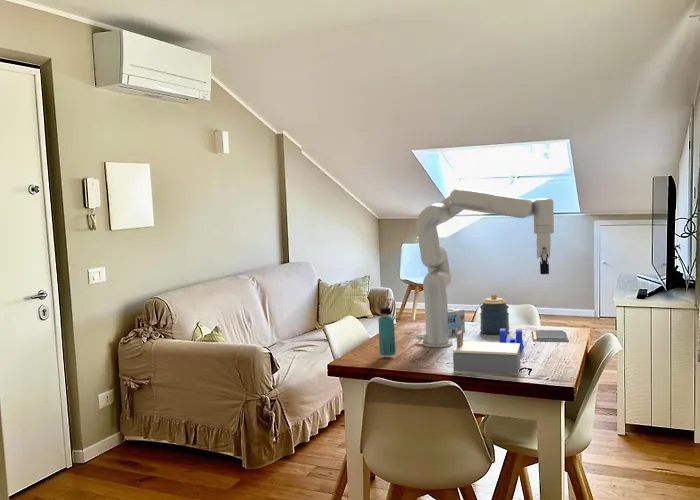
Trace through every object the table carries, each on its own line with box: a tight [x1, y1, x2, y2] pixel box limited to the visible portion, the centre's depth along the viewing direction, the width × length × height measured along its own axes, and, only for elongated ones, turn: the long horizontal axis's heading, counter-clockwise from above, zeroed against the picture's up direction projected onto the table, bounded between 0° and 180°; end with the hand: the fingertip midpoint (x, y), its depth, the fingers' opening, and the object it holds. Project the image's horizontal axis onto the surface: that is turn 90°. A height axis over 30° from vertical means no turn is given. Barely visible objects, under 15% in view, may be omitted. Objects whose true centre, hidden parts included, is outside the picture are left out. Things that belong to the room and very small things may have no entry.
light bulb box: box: [448, 307, 466, 336], centre depth 279 cm, size 11×7×11 cm, turn 119°
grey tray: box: [452, 347, 521, 377], centre depth 217 cm, size 22×14×7 cm, turn 70°
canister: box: [479, 293, 510, 336], centre depth 276 cm, size 13×13×18 cm
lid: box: [452, 331, 520, 355], centre depth 216 cm, size 22×14×6 cm, turn 70°
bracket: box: [499, 328, 524, 354], centre depth 247 cm, size 18×8×9 cm, turn 161°
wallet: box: [530, 329, 570, 343], centre depth 263 cm, size 20×2×15 cm
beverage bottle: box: [377, 307, 396, 357], centre depth 238 cm, size 6×7×20 cm
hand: (544, 272), depth 240 cm, fingers open, 9 cm apart
